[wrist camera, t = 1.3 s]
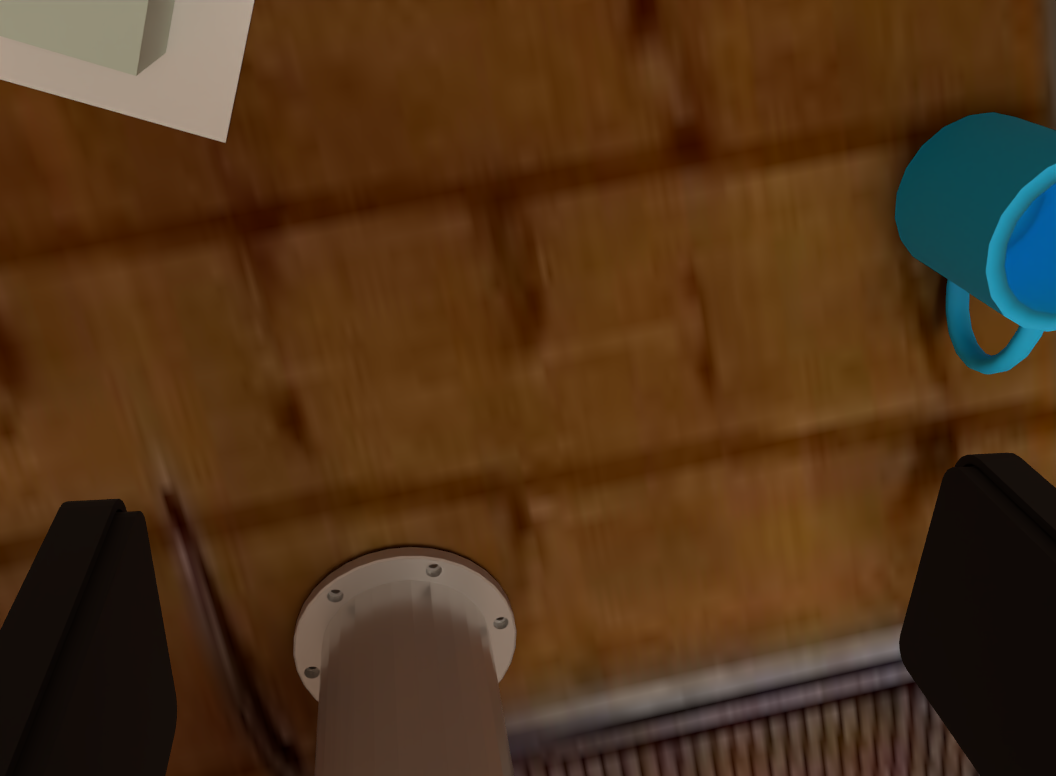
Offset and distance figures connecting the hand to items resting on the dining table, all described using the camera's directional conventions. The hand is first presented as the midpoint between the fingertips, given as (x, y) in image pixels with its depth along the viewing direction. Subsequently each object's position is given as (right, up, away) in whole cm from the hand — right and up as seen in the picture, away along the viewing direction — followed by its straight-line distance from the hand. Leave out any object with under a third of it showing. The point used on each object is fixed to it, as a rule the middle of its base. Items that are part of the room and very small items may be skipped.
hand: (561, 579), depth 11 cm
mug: (+22, +10, +39) cm, 46 cm away
